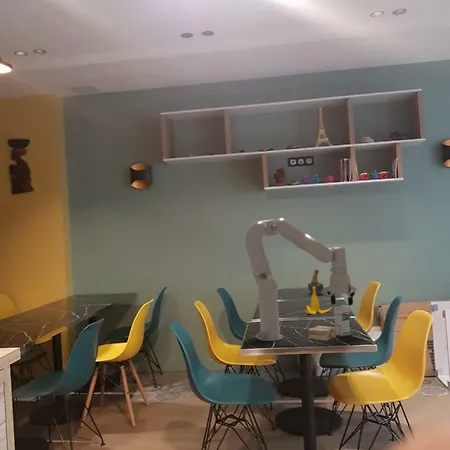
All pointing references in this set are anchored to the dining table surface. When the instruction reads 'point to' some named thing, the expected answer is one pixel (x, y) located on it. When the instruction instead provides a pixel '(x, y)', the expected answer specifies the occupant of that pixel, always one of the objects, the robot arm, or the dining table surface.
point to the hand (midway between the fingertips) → (342, 304)
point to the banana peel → (315, 305)
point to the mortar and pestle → (315, 284)
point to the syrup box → (342, 320)
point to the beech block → (322, 333)
